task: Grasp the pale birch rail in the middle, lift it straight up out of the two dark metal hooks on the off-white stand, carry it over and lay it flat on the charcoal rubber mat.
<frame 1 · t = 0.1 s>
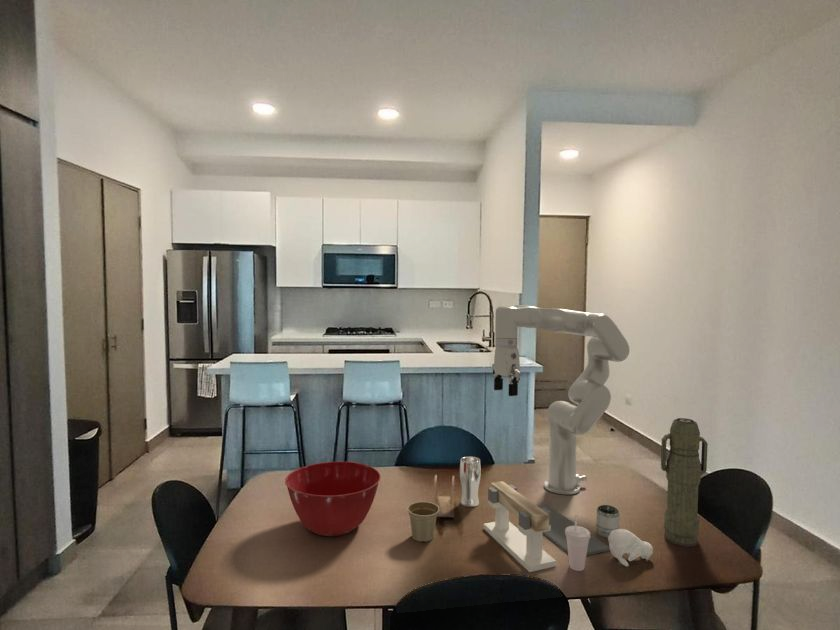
hand: (505, 392, 175), 37 cm above the table, tool pointing down, fingers open, 9 cm apart
smoothie: (576, 567, 134), on the table
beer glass: (469, 503, 172), on the table
flower pot: (423, 537, 149), on the table
camera lens: (607, 534, 152), on the table
rail: (517, 511, 144), point 10 cm above the table, touching hook stand
mixing bowl: (334, 526, 156), on the table
thermos: (681, 539, 149), on the table
mat: (559, 529, 154), on the table
white animal figurine: (631, 561, 137), on the table
hook stand: (517, 546, 144), on the table
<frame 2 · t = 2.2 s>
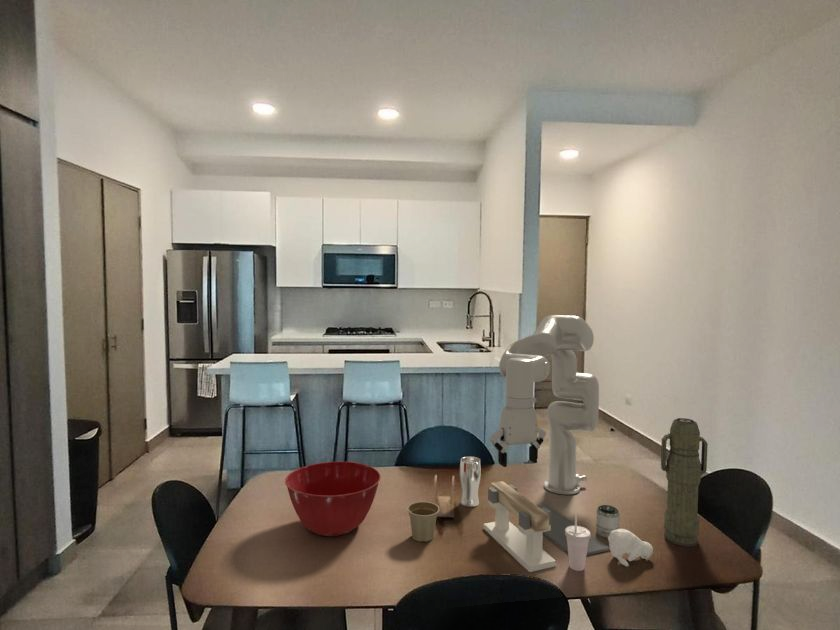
hand: (518, 463, 143), 24 cm above the table, tool pointing down, fingers open, 9 cm apart
nothing on the table moved.
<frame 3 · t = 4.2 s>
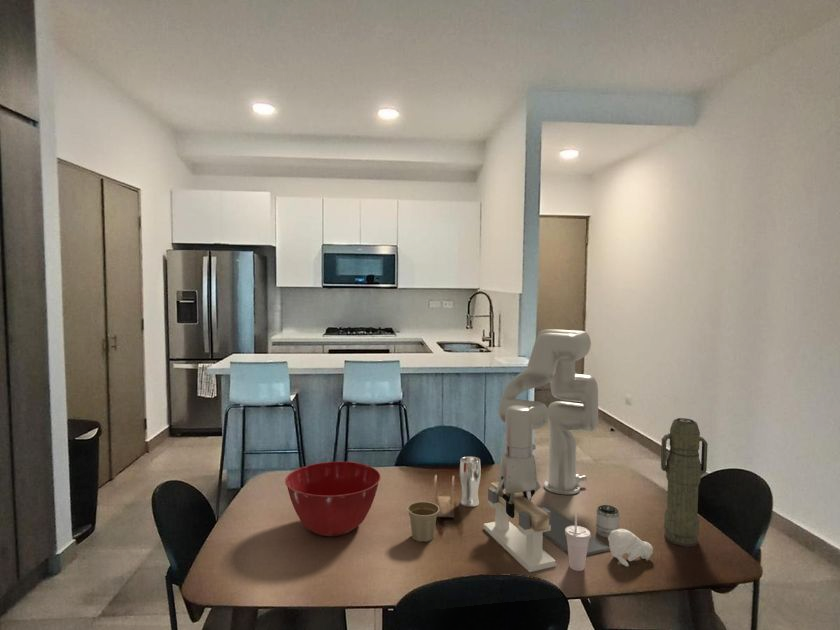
hand: (517, 513, 144), 9 cm above the table, tool pointing down, fingers closed on rail, 4 cm apart
rail: (517, 511, 144), point 10 cm above the table, touching gripper, hook stand
everything else where it was.
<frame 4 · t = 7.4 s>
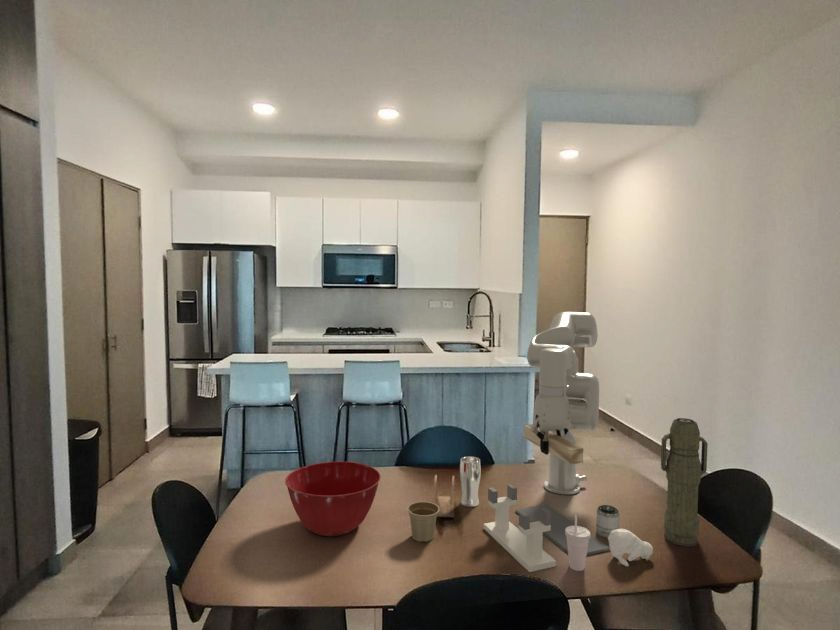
hand: (551, 451, 151), 25 cm above the table, tool pointing down, fingers closed on rail, 4 cm apart
rail: (551, 449, 150), point 25 cm above the table, touching gripper
everything else where it was.
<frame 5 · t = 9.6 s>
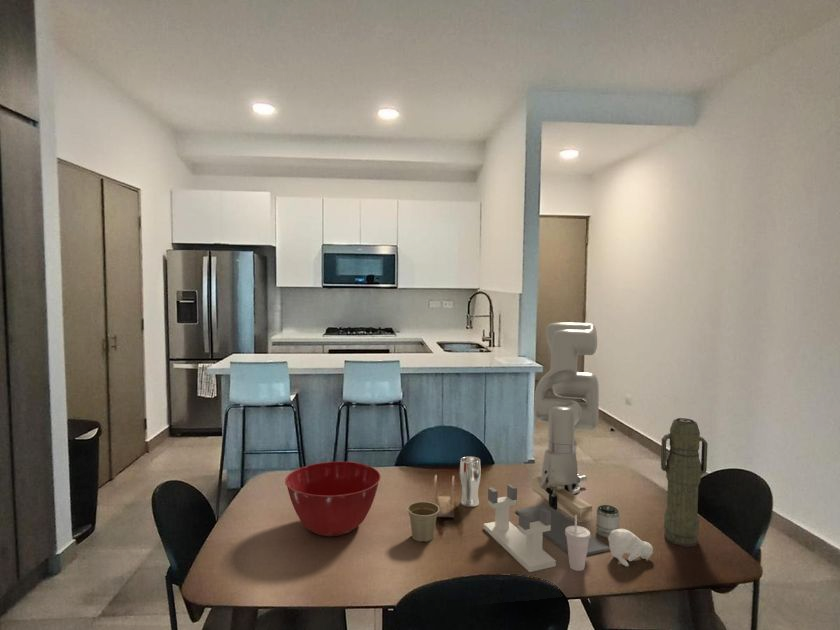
hand: (559, 506, 154), 7 cm above the table, tool pointing down, fingers closed on rail, 4 cm apart
rail: (559, 503, 154), point 8 cm above the table, touching gripper
everything else where it was.
when the fingers open (2 cm above the table, at t = 11.1 s): rail drops 2 cm, resting on mat.
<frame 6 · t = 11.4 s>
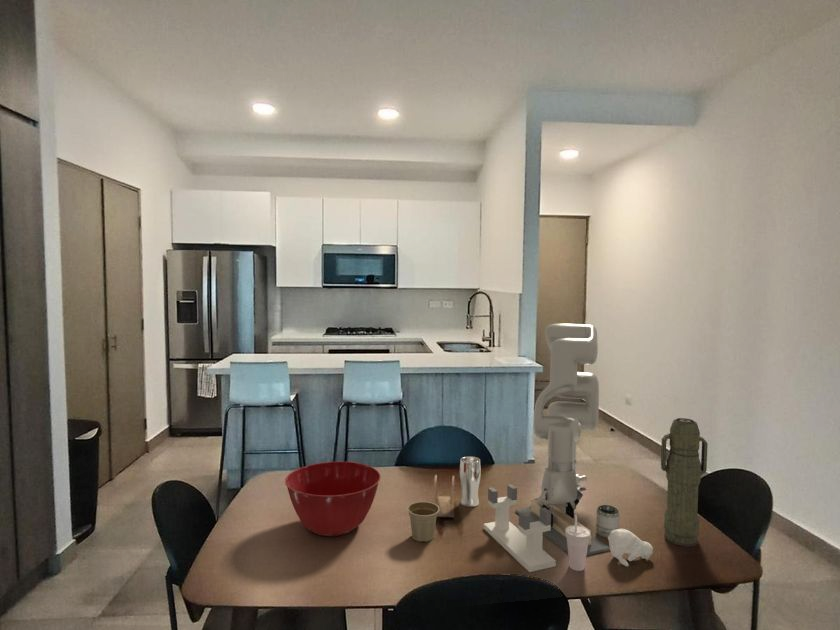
hand: (559, 522, 154), 2 cm above the table, tool pointing down, fingers open, 6 cm apart
rail: (559, 527, 154), point 1 cm above the table, touching mat
everything else where it was.
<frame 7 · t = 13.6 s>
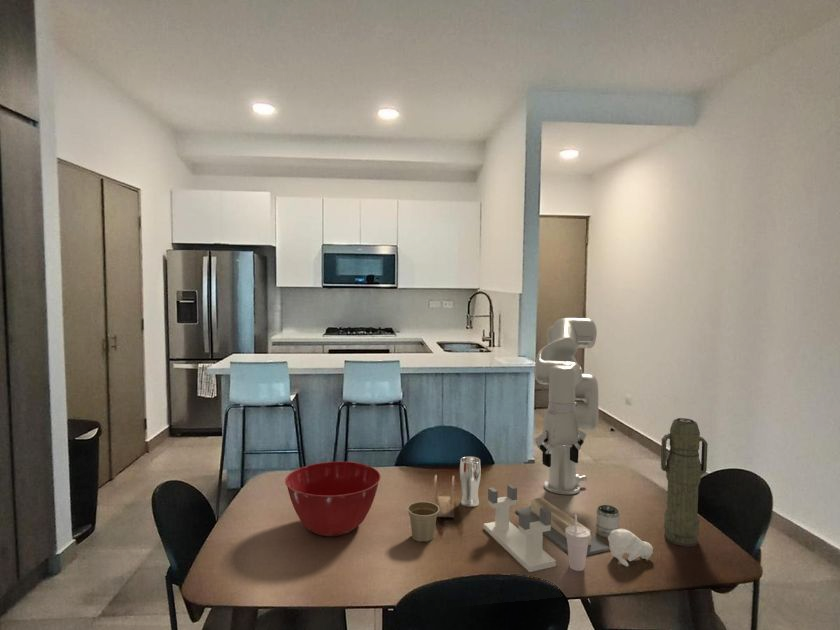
hand: (560, 463, 153), 20 cm above the table, tool pointing down, fingers open, 9 cm apart
nothing on the table moved.
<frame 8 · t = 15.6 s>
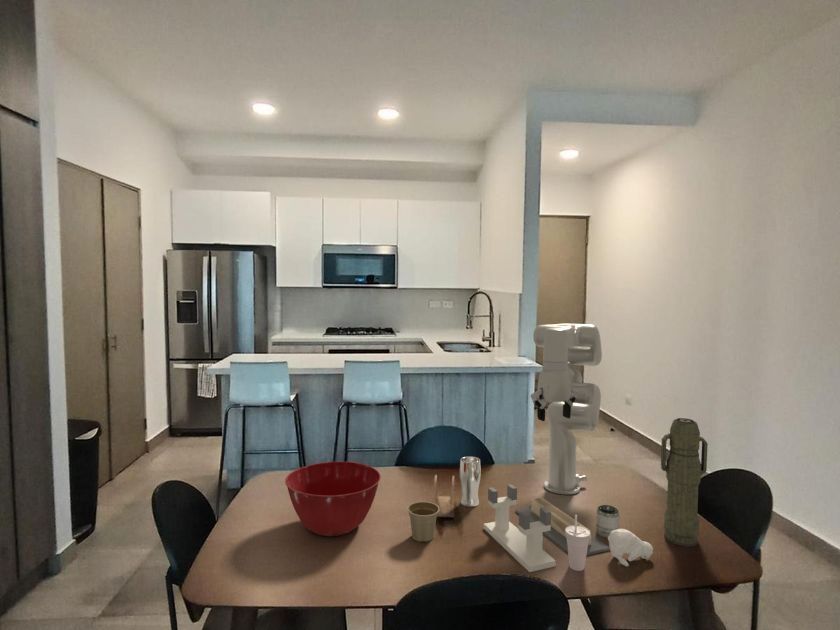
hand: (554, 418, 166), 30 cm above the table, tool pointing down, fingers open, 9 cm apart
nothing on the table moved.
at the end: rail inside the target area (0.0 cm from its centre), point 0.8 cm above the table; rail tilted 0°; the gripper is holding nothing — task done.
